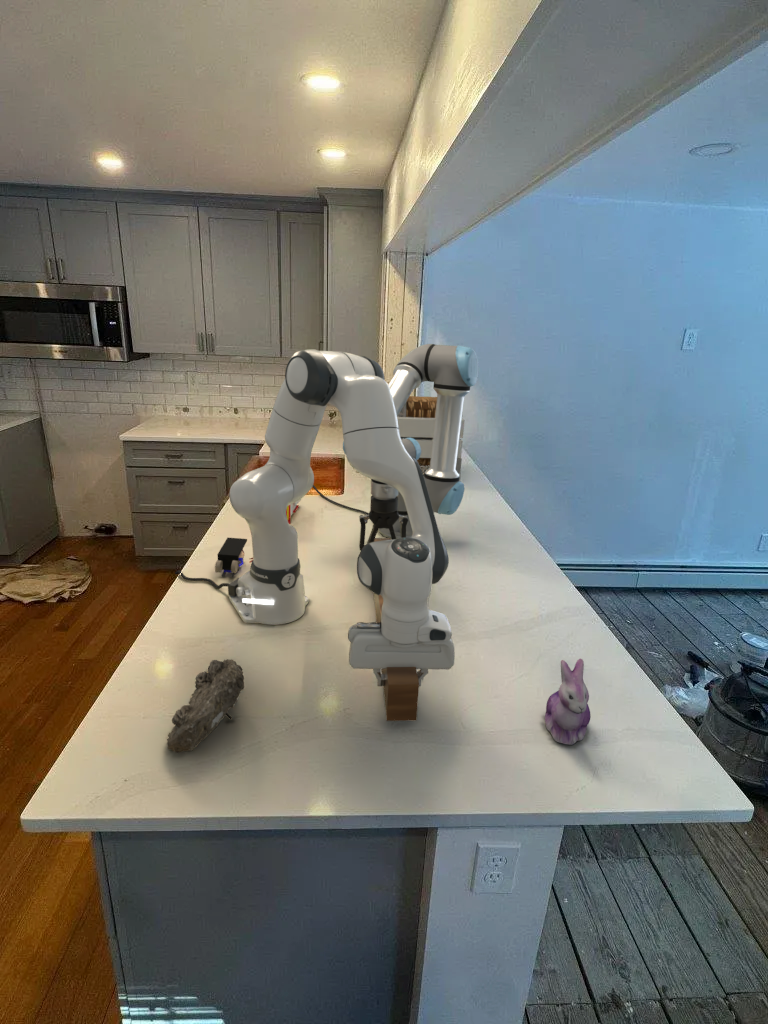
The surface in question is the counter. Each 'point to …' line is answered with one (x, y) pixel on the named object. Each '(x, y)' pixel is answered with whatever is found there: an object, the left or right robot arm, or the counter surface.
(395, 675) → the post
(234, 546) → the figurine character
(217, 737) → the counter surface
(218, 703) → the fossil
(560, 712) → the figurine
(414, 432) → the white boxy crate
